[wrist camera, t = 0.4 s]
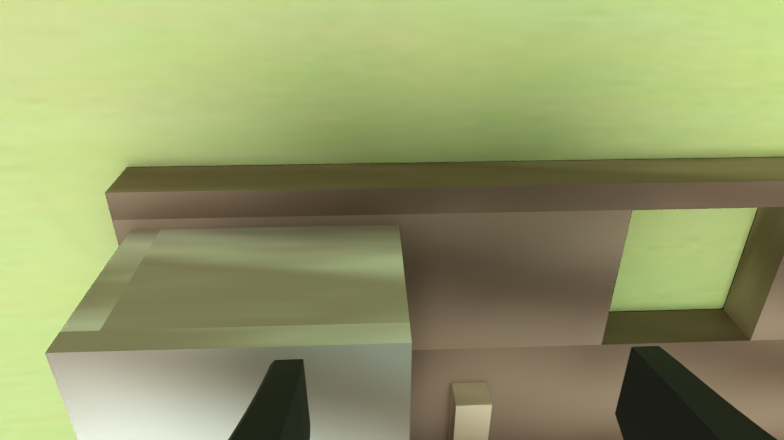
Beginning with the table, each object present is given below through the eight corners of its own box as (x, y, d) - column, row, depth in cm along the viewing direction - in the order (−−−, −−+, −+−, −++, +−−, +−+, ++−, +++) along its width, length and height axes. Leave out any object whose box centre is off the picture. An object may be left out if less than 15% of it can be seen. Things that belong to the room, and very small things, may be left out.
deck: (828, 496, 32) (959, 667, 25) (211, 521, 30) (165, 708, 23) (1023, 153, 22) (1332, 274, 15) (126, 167, 21) (6, 307, 14)
